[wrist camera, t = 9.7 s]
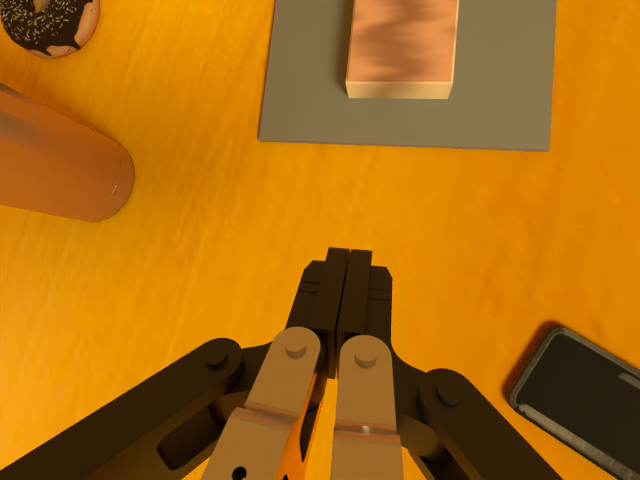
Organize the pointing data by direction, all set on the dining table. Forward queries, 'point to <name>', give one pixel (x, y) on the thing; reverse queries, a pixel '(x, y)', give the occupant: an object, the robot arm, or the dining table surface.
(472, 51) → the mat
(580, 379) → the phone
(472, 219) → the dining table surface
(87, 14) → the donut
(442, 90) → the tan wooden block
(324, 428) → the dining table surface
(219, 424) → the robot arm
